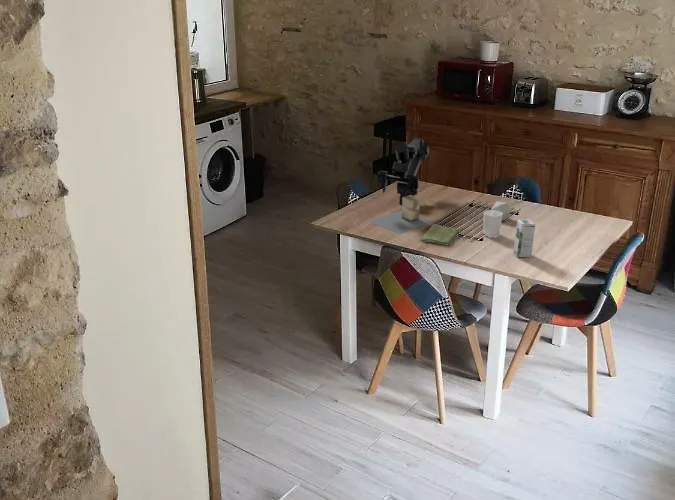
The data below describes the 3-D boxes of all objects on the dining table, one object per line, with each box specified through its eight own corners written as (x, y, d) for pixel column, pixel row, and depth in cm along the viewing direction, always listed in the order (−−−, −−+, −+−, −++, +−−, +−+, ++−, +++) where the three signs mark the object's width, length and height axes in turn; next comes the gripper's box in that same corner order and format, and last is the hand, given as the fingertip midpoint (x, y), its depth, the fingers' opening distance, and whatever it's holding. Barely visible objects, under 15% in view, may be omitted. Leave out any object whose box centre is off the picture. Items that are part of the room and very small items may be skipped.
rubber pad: (402, 212, 328) (402, 210, 328) (433, 224, 314) (434, 222, 314) (367, 223, 315) (367, 221, 315) (399, 236, 301) (399, 233, 301)
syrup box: (512, 252, 286) (516, 219, 280) (527, 252, 286) (531, 218, 280) (517, 258, 280) (521, 224, 275) (531, 257, 281) (536, 223, 275)
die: (511, 218, 324) (503, 199, 325) (514, 215, 315) (506, 196, 316) (494, 225, 324) (486, 206, 325) (497, 222, 315) (489, 202, 317)
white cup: (501, 232, 306) (503, 211, 302) (499, 239, 299) (501, 217, 295) (483, 230, 308) (485, 209, 304) (480, 236, 301) (482, 215, 297)
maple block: (409, 215, 321) (410, 194, 317) (418, 219, 317) (420, 198, 313) (401, 218, 318) (402, 197, 314) (411, 221, 314) (412, 200, 310)
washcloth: (419, 243, 296) (419, 235, 294) (431, 229, 310) (432, 222, 309) (449, 248, 291) (450, 240, 289) (460, 233, 306) (461, 226, 304)
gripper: (381, 152, 316) (371, 178, 308) (422, 159, 311) (413, 185, 303) (383, 169, 325) (373, 194, 317) (422, 175, 320) (414, 201, 312)
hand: (393, 194), depth 312 cm, fingers open, 9 cm apart
